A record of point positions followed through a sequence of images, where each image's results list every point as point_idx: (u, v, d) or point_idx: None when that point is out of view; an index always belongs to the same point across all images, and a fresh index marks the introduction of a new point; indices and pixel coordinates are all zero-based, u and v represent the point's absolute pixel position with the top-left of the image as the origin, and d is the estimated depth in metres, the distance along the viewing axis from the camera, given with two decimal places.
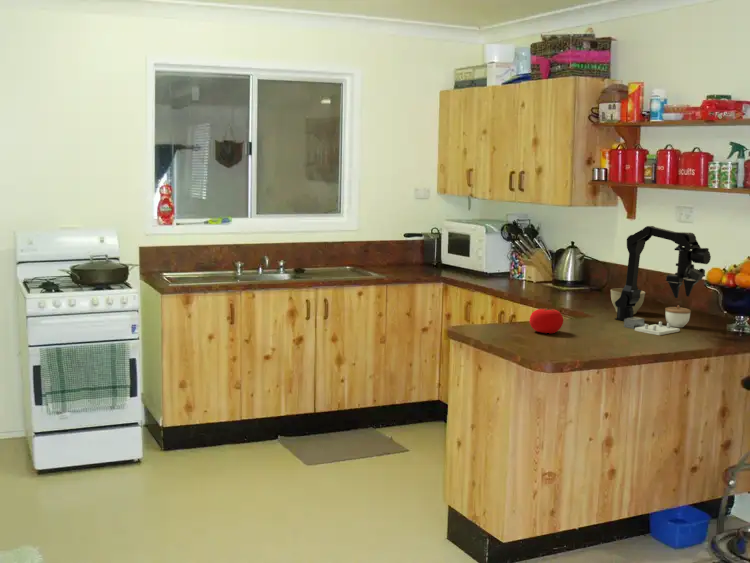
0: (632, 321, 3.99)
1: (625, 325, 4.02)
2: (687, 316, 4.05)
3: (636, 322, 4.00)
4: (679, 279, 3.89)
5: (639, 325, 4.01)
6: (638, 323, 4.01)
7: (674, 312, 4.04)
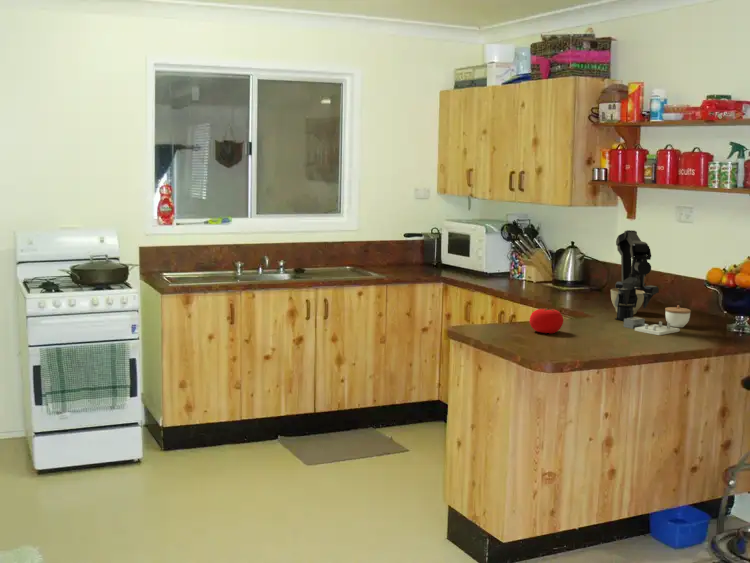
0: (631, 321, 3.99)
1: (625, 325, 4.02)
2: (687, 316, 4.05)
3: (636, 322, 4.00)
4: (616, 285, 4.05)
5: (639, 325, 4.01)
6: (638, 323, 4.01)
7: (674, 312, 4.04)
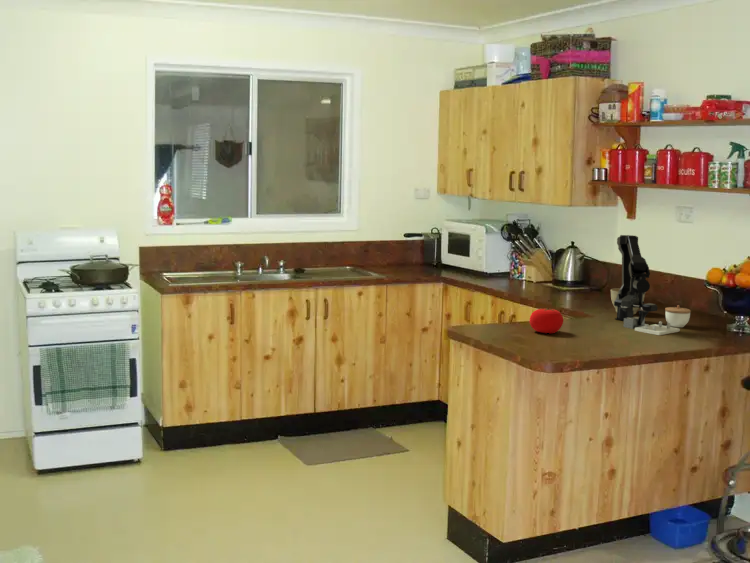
0: (631, 320, 3.99)
1: (625, 324, 4.02)
2: (687, 316, 4.05)
3: (636, 321, 4.00)
4: (615, 302, 4.06)
5: (639, 325, 4.01)
6: None
7: (674, 312, 4.04)
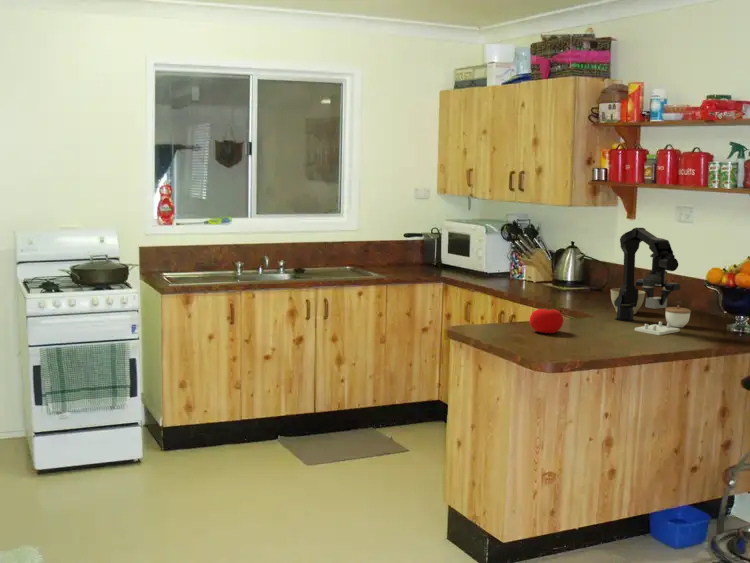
0: (653, 300, 3.91)
1: (646, 304, 3.94)
2: (687, 316, 4.05)
3: (658, 301, 3.91)
4: (637, 283, 3.98)
5: (661, 305, 3.93)
6: (660, 302, 3.92)
7: (674, 312, 4.04)
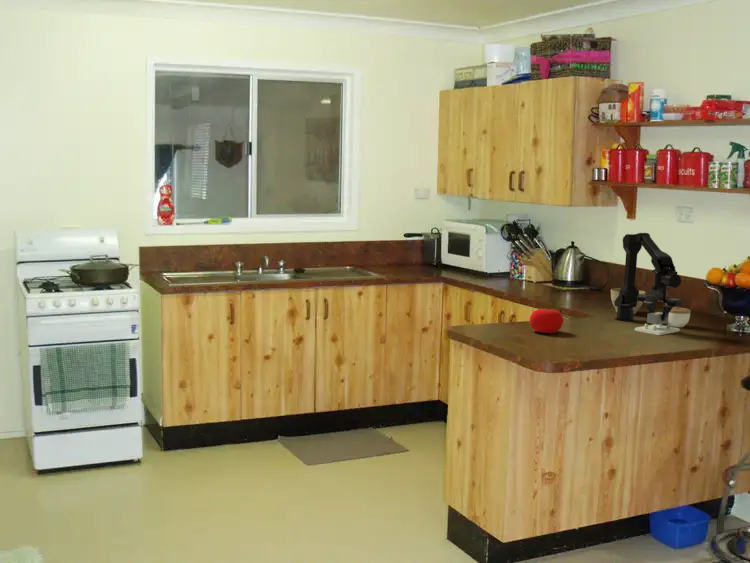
0: (655, 316, 3.91)
1: (648, 320, 3.94)
2: (687, 316, 4.05)
3: (660, 317, 3.92)
4: (638, 298, 3.98)
5: None
6: None
7: (674, 312, 4.04)
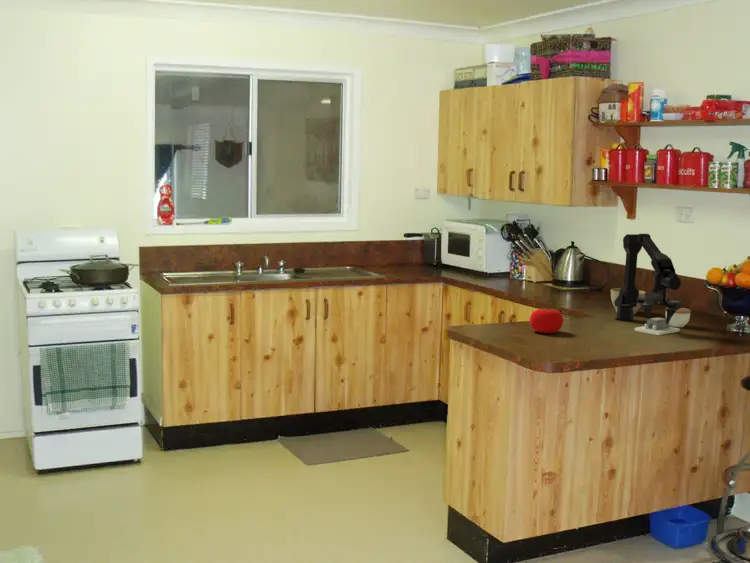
0: (655, 321, 3.91)
1: (648, 325, 3.94)
2: (687, 316, 4.05)
3: (660, 322, 3.92)
4: (638, 300, 3.98)
5: (662, 326, 3.94)
6: (661, 323, 3.93)
7: None
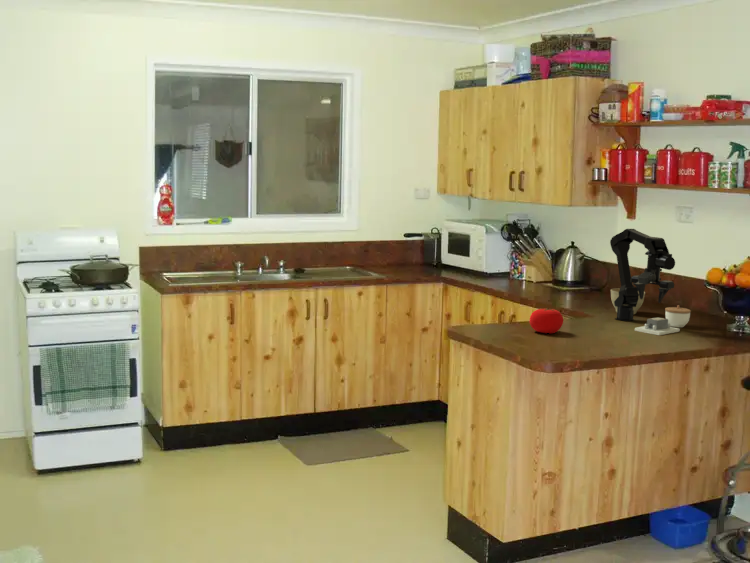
0: (655, 321, 3.91)
1: (648, 325, 3.94)
2: (687, 316, 4.05)
3: (660, 322, 3.92)
4: (632, 279, 4.06)
5: (662, 326, 3.94)
6: (661, 323, 3.93)
7: (674, 312, 4.04)
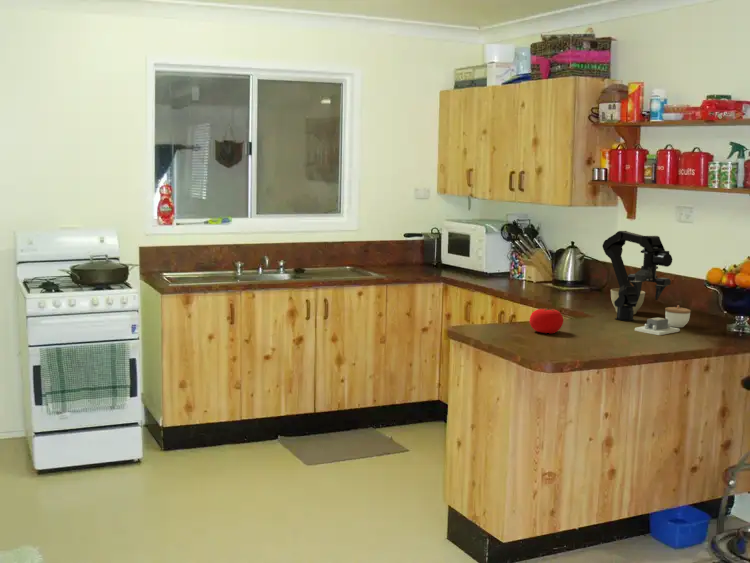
0: (655, 321, 3.91)
1: (648, 325, 3.94)
2: (687, 316, 4.05)
3: (660, 322, 3.92)
4: (628, 277, 4.10)
5: (662, 326, 3.94)
6: (661, 323, 3.93)
7: (674, 312, 4.04)
